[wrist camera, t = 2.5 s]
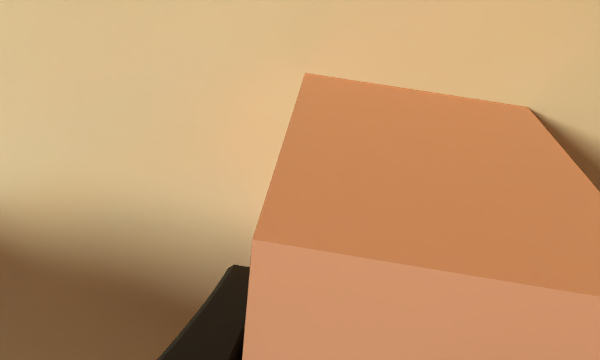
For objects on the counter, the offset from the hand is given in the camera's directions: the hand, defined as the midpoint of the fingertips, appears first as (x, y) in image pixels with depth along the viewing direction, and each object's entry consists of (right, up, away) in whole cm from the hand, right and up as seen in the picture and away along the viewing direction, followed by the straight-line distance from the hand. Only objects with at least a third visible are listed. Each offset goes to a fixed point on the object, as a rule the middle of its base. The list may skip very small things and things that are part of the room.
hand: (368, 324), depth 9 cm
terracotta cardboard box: (0, +1, +1) cm, 2 cm away
